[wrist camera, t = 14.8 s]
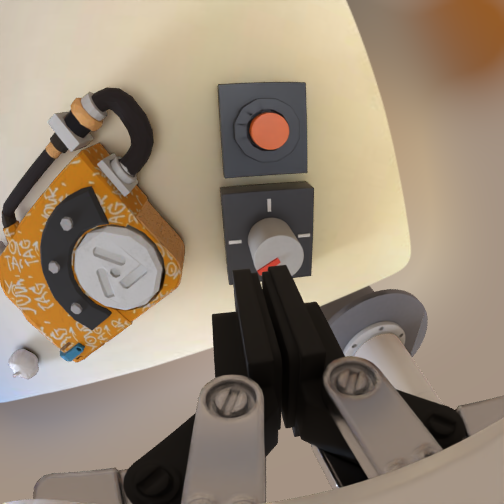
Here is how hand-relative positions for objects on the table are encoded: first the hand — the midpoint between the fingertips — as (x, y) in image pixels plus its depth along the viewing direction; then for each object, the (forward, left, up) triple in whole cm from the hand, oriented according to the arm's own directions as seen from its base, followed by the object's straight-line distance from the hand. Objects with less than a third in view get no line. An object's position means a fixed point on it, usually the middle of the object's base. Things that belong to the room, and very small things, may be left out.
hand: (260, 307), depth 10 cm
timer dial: (-8, -5, -24) cm, 26 cm away
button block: (+3, -4, -27) cm, 28 cm away
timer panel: (-9, -4, -27) cm, 29 cm away
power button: (+3, -4, -23) cm, 24 cm away
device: (-6, +17, -27) cm, 33 cm away
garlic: (-27, +37, -27) cm, 53 cm away
